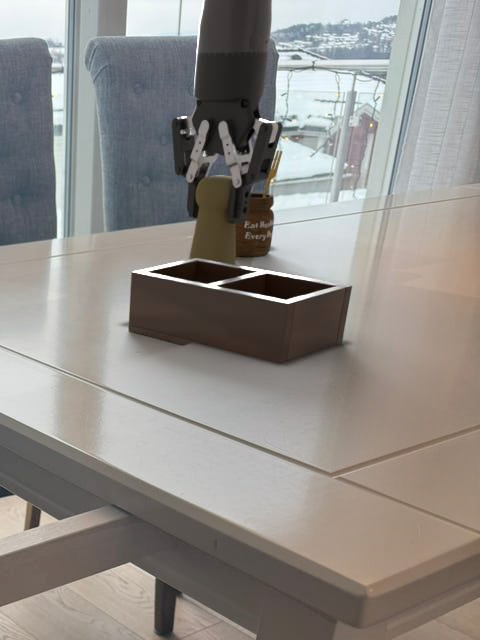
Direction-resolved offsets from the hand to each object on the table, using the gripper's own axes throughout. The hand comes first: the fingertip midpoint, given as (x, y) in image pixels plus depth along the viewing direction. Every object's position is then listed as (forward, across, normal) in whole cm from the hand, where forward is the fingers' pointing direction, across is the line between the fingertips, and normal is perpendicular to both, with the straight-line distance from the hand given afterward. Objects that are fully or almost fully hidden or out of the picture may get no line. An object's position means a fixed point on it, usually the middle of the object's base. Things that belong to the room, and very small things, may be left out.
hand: (215, 219), depth 109 cm
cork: (+7, 0, 0) cm, 7 cm away
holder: (+6, -19, +20) cm, 28 cm away
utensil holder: (+7, +6, -15) cm, 17 cm away
